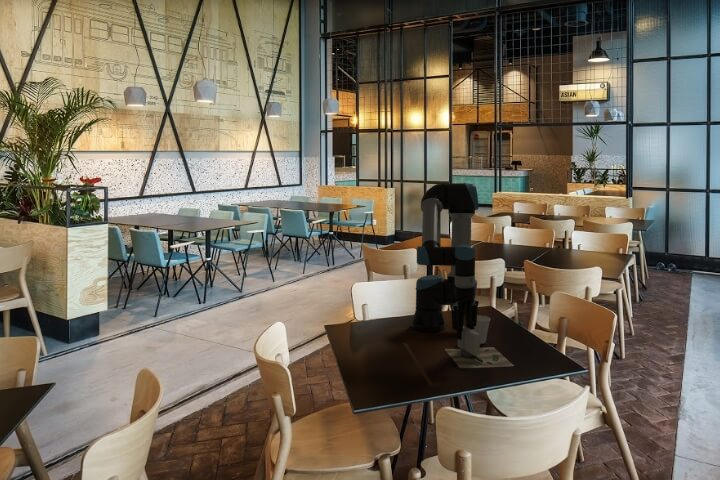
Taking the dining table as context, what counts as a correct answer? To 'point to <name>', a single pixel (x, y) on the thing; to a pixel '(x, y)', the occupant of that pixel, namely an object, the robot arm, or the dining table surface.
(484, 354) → the board
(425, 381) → the dining table surface
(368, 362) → the dining table surface
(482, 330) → the cup
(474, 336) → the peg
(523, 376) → the dining table surface
